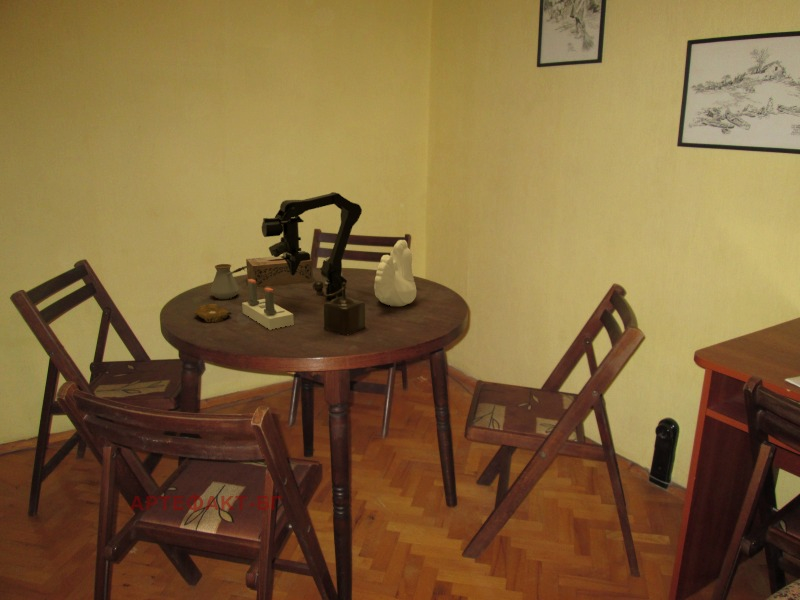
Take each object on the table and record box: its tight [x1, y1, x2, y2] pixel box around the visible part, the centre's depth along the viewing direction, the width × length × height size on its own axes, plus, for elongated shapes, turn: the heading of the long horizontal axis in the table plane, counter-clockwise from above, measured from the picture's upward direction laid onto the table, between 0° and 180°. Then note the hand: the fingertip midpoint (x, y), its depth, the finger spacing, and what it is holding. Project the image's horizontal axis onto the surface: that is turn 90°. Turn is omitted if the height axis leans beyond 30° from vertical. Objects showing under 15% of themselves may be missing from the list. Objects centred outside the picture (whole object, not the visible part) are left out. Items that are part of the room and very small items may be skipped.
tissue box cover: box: [245, 255, 314, 289], centre depth 268 cm, size 26×14×10 cm, turn 115°
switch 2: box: [263, 287, 276, 315], centre depth 210 cm, size 3×4×9 cm
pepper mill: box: [311, 280, 366, 336], centre depth 205 cm, size 16×11×18 cm
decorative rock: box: [193, 303, 232, 323], centre depth 221 cm, size 11×4×15 cm
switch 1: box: [246, 279, 259, 305], centre depth 221 cm, size 3×4×9 cm
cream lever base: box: [241, 298, 295, 331], centre depth 218 cm, size 9×23×4 cm, turn 37°
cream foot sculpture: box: [373, 239, 417, 307], centre depth 232 cm, size 25×16×25 cm, turn 143°
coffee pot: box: [209, 263, 249, 300], centre depth 240 cm, size 21×12×15 cm, turn 51°
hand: (292, 275), depth 231 cm, fingers closed
